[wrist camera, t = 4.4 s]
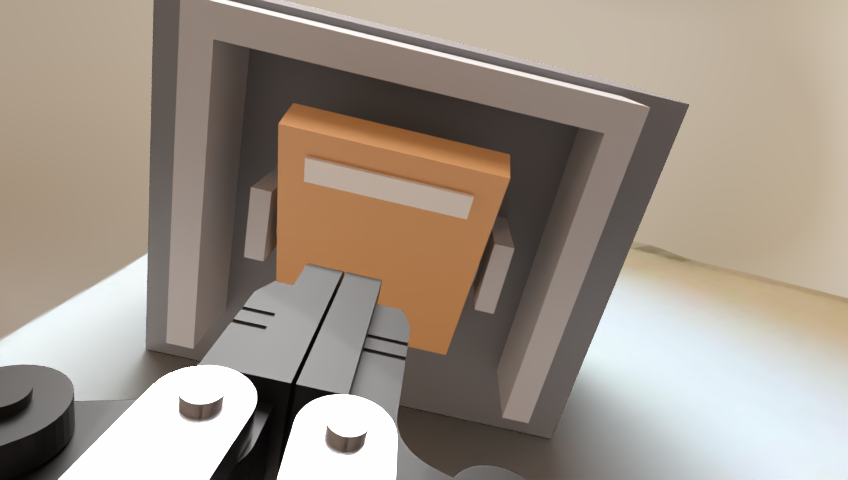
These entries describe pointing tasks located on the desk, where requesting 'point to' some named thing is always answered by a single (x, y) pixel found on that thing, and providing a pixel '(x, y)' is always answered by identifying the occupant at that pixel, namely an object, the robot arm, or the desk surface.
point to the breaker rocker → (387, 212)
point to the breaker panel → (415, 111)
